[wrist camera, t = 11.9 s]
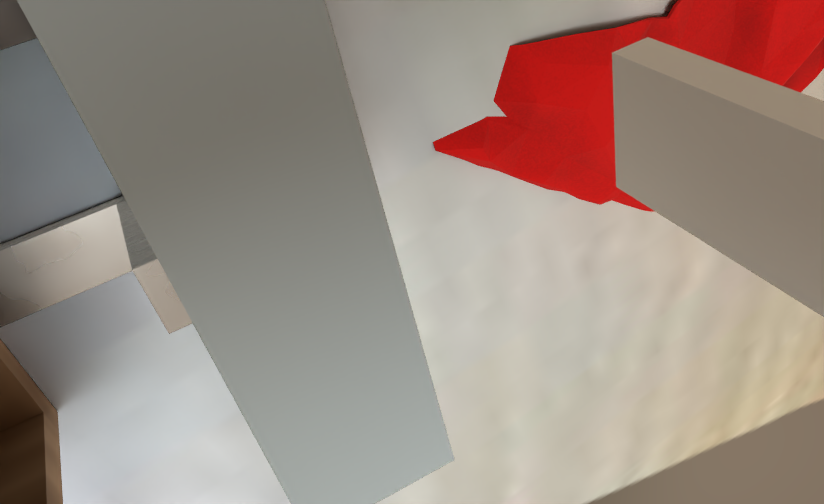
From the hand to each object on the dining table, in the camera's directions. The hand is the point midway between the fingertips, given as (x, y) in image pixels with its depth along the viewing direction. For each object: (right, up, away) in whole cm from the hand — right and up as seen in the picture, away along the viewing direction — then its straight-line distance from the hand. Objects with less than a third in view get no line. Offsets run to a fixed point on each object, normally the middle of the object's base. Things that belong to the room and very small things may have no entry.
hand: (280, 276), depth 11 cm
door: (-5, +6, +10) cm, 12 cm away
